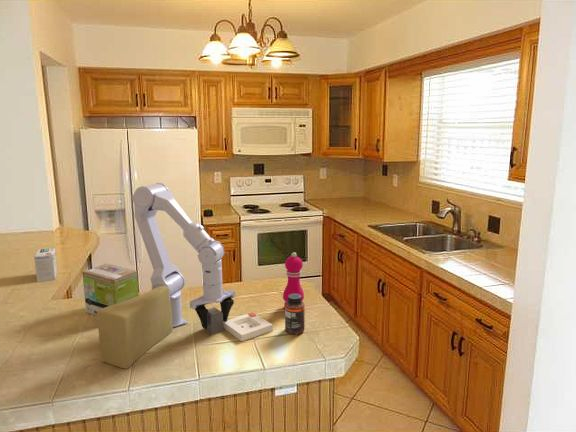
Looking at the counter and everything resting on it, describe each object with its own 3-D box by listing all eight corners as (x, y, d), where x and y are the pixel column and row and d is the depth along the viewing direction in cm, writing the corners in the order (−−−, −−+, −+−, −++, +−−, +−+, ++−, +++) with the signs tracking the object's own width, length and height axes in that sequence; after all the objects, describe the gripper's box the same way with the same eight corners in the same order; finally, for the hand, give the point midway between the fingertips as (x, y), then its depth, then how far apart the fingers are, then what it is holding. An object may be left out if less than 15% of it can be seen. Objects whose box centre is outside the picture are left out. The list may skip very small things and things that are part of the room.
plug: (211, 334, 127) (211, 315, 125) (203, 328, 131) (203, 309, 129) (223, 331, 129) (222, 311, 128) (215, 325, 133) (214, 306, 132)
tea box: (84, 313, 141) (80, 270, 138) (110, 302, 149) (106, 262, 146) (116, 323, 134) (113, 278, 131) (141, 311, 143) (138, 269, 140)
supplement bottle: (299, 324, 134) (300, 291, 131) (307, 333, 128) (308, 298, 126) (282, 327, 132) (282, 293, 129) (289, 336, 126) (289, 300, 124)
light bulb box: (39, 274, 178) (36, 249, 175) (57, 271, 180) (54, 247, 178) (36, 282, 168) (33, 256, 166) (55, 279, 171) (53, 254, 169)
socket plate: (241, 341, 123) (241, 334, 122) (222, 327, 131) (222, 320, 131) (272, 330, 130) (272, 323, 129) (252, 318, 138) (252, 311, 138)
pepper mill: (301, 313, 142) (302, 256, 138) (280, 311, 143) (281, 254, 139) (305, 304, 149) (306, 250, 145) (285, 303, 150) (285, 248, 146)
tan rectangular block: (158, 327, 131) (156, 281, 128) (183, 334, 127) (181, 286, 124) (99, 361, 112) (94, 308, 109) (126, 371, 108) (122, 316, 105)
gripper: (196, 292, 119) (198, 336, 122) (240, 280, 128) (241, 322, 131) (185, 285, 125) (188, 327, 128) (228, 274, 134) (229, 314, 136)
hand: (214, 324), depth 130 cm, fingers open, 6 cm apart
